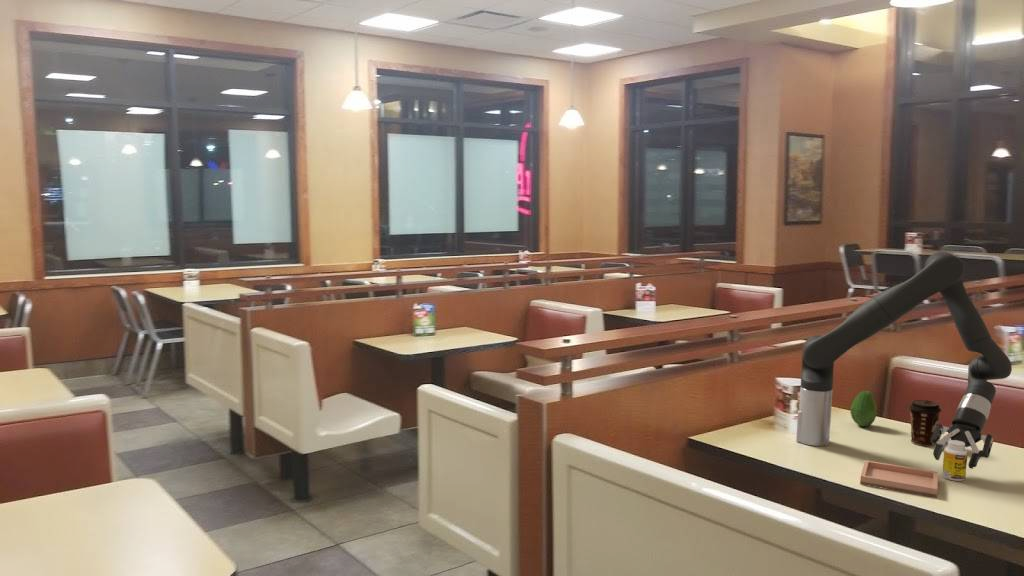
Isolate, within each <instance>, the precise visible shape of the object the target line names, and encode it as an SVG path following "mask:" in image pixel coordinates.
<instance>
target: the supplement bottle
mask: <svg viewBox="0 0 1024 576" xmlns="http://www.w3.org/2000/svg"><path fill="white" fill-rule="evenodd" d="M965 448H966V447H965V443H964V442H962V441H958V440H950V439H949V441H948V446H946V447H944V448H943V451H944V452H943V460H942V471H941V475H942V477H944V478H945V479H946V480H950V481H952V482H953V481H955V482H963V481H965V479H966V474H967V465H968V464H967V463H968V454H969V453H968V450H967V449H965Z"/></svg>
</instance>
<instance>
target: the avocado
mask: <svg viewBox="0 0 1024 576" xmlns="http://www.w3.org/2000/svg"><path fill="white" fill-rule="evenodd" d="M877 410H878V409H877V406H876V402H875V399H874V395H873V394H872V393H871V391H868V390H862V391H860V392H859V393H857V395H856V396H855V398H854V399H853V402H852V404H851V406H850V416H851V419H852V421H854V423H855V424H856V425H858V426H860V427H864V426H865V427H868V426H871V425H872V424H873V423H874V422H875V421H876V418H877V413H878V412H877Z"/></svg>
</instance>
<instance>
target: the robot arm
mask: <svg viewBox="0 0 1024 576" xmlns="http://www.w3.org/2000/svg"><path fill="white" fill-rule="evenodd" d="M964 274H965V265H964V262H963V260H962V259H961V258H959V257H958V256H956V255H955V254H953V253H950V252H947V251H946V252H945V251H937V252H935V253H933V254H931V255H930V256H928V258H926V260H925V264H924V268H922V269H921V270H920V271H918V272H917V273H916V274H914V275H913V276H912V277H910V278H908V279H907V280H905V281H903V282H900V283H899V284H896V285H894V286H892V287H889V288H888V289H886V290H883V291H881V292H879V293H878V294H876V295H874V296H873V297H871V298H870V299H868V300H867V301H866V302H864V303H862V304H860V306H859V307H857V308H856V309H855V310H854V311H853V312H852V313H850V315H849V316H848V317H847V318H846V319H845V320H844V321H843V322H842V323H840V324H839V325H838V326H836V327H835V328H834V329H832V330H831V331H828V332H827V333H825V334H823V335H813V336H810V337H809V338H808V339H806V340H805V342H804V343H803V346H802V352H801V353H802V355H801V357H802V358H801V371H800V372H801V373H800V388H799V389H800V392H799V407H798V409H799V410H798V411H797V419H796V420H797V422H796V423H797V424H796V441H795V442H798V443H802V444H804V445H806V446H807V445H808V446H813V447H815V446H816V447H823V446H828V445H829V444H830V438H831V437H830V435H831V434H830V433H831V423H832V422H831V418H832V402H833V387H834V386H833V385H834V364H835V362H836V361H837V360H838V359H839V358H840V357H841V356H843V355H844V354H846V353H847V352H849V350H850V349H852V348H853V347H855V346H856V345H858V344H860V343H862V342H863V341H866V340H867V339H870V338H871V337H873V336H874V335H876V334H877V333H879V332H881V331H883V330H884V329H885V328H888V327H889V326H890V325H891V324H893V323H895V322H897V321H898V320H899V319H900V318H902V317H903V316H905V315H906V314H907V313H909V312H910V311H912V310H913V309H914V308H916V307H917V306H918V305H920V304H921V303H922V302H924V301H926V299H928V298H930V297H932V296H935V295H936V294H938V293H940V295H941V297H942V299H943V301H944V303H945V305H946V306H947V308H948V311H949V313H950V316H951V319H952V320H953V323H954V324H955V327H956V330H957V332H958V333H959V336H960V338H961V340H962V342H963V345H964V347H965V348H966V350H967V351H968V352H972V353H973V352H974V353H978V354H980V355H979V356H976V357H974V358H972V360H970V362H969V364H968V370H967V375H968V377H967V386H966V389H965V392H964V394H963V396H962V398H961V400H960V402H958V403H959V404H958V407H957V408H956V411H955V413H954V417H953V419H952V422H951V424H950V425H949V426H944V425H943V424H942V423H938V424H937V427H936V429H935V431H934V433H933V435H932V437H931V442H932V444H933V445H932V446H935V447H934V450H933V452H932V455H933V457H934V459H935V460H936V461H939V460H940V458H941V456H942V452H943V451H944V449H945V447H948V441H949V440H958V441H962V442H964V443H965V448H968V447H969V448H970V449H971V450H972V452H971V453H972V454H971V456H970V458H969V460H968V464H967V465H968V468H969V469H972V470H973V469H974V468H976V467H977V466H978V464H979V463H978V462H979V461H980V458H985V459H988V458H989V457H990V455H991V450H992V447H993V444H994V438H993V436H992V435H991V434H985V435H984V434H982V433H983V432H984V429H985V426H986V423H987V420H988V419H989V415H990V412H991V408H992V404H993V401H994V400H995V396H996V392H997V390H996V386H995V385H994V384H993V383H991V382H989V381H993V380H1004V379H1007V378H1008V377H1010V375H1011V373H1012V372H1013V371H1012V369H1013V366H1012V362H1011V360H1010V358H1009V356H1007V354H1006V353H1005V352H1004V351H1003V349H1002V348H1001V347H1000V346H999V345H998V344H997V342H996V341H995V340H994V339H993V338H992V337H991V334H990V331H989V329H988V328H987V325H986V324H985V321H984V319H983V318H982V316H981V314H980V313H979V311H978V309H977V308H976V306H975V305H974V303H973V301H972V300H971V297H970V296H969V294H968V292H967V289H966V287H965V285H964V283H963V282H964V281H963V276H964ZM946 433H947V434H946ZM944 434H945V435H944ZM942 435H944V436H943V437H942ZM941 437H942V438H941ZM981 441H982V442H983V447H982V449H979V448H978V446H977V443H978V442H981Z"/></svg>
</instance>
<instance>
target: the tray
mask: <svg viewBox="0 0 1024 576" xmlns="http://www.w3.org/2000/svg"><path fill="white" fill-rule="evenodd" d="M938 473H939V472H938V471H936V470H934V471H933V470H928V469H921V468H916V467H910V466H904V465H898V464H897V465H896V464H892V463H886V462H877V461H873V460H868V459H867V460H866V459H865V460H864V463H863V467H862V469H861V474H860V478H859V479H860V481H859V484H860V485H861V484H862V486H867V485H870V486H869V487H873V486H876V487H875V488H878V487H882V488H881V489H884V488H886V489H885V490H890V489H891V490H892V491H897V492H901V493H902V492H903V493H908V494H914V495H918V494H919V496H924V497H925V496H926V497H930V498H938V488H939V487H938V480H939V478H938Z"/></svg>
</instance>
